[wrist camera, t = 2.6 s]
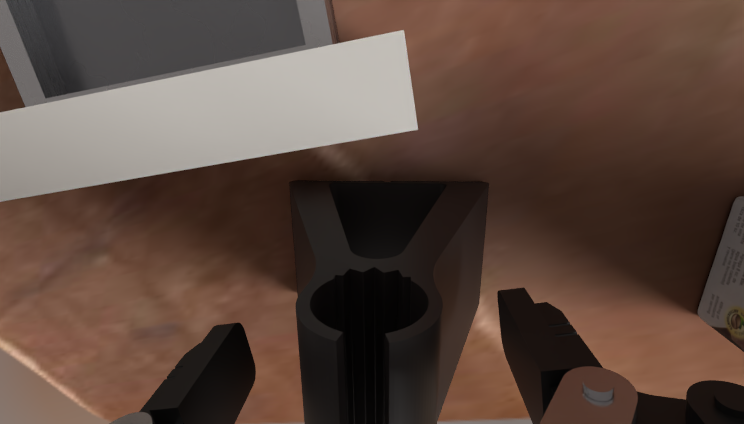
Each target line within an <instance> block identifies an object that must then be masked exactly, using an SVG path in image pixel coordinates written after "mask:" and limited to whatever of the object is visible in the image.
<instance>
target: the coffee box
mask: <svg viewBox="0 0 744 424" xmlns="http://www.w3.org/2000/svg"><path fill="white" fill-rule="evenodd" d="M698 316H699V317H700V318H701V319H702V320H704V321H705V322H706V323H707V324H708V325H710V326H711V327H712V328H714V329H715V330H716V331H718V332H719V333H720V334H721V335H723V336H724V337H725V338H727V339H728V340H729V341H730V342H732V343H733V344H734V345H736V346H737V347H738V348H739V349H741V350H742V351H743V352H744V196H739V197H737V198H736V199H735V201H734V203H733V206H732V209H731V212H730V215H729V218H728V220H727V223H726V227H725V230H724V233H723V236H722V239H721V242H720V245H719V247H718V250H717V253H716V256H715V260H714V262H713V265H712V268H711V271H710V274H709V277H708V280H707V283H706V286H705V289H704V292H703V295H702V298H701V301H700V304H699V308H698Z"/></svg>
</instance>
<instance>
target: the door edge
mask: <svg viewBox="0 0 744 424" xmlns="http://www.w3.org/2000/svg"><path fill="white" fill-rule="evenodd" d="M413 130H418V126H417V119H416V112H415V105H414V98H413V91H412V84H411V77H410V70H409V63H408V56H407V49H406V42H405V34H404V30H401V31H396V32H391V33H387V34H382V35H377V36H372V37H367V38H362V39H357V40H352V41H347V42H343V43H338V44H333V45H328V46H323V47H318V48H313V49H308V50H303V51H298V52H294V53H289V54H284V55H279V56H274V57H269V58H264V59H259V60H254V61H250V62H245V63H240V64H235V65H230V66H225V67H220V68H215V69H210V70H206V71H201V72H196V73H191V74H186V75H181V76H176V77H171V78H166V79H161V80H157V81H152V82H147V83H142V84H137V85H132V86H127V87H122V88H117V89H113V90H108V91H103V92H98V93H93V94H88V95H83V96H78V97H73V98H69V99H64V100H59V101H54V102H49V103H44V104H39V105H34V106H29V107H24V108H20V109H15V110H10V111H5V112H0V202H2V201H8V200H13V199H19V198H25V197H31V196H37V195H42V194H48V193H54V192H60V191H66V190H71V189H77V188H83V187H89V186H95V185H100V184H106V183H112V182H118V181H123V180H129V179H135V178H141V177H147V176H152V175H158V174H164V173H170V172H176V171H181V170H187V169H193V168H199V167H205V166H210V165H216V164H222V163H228V162H234V161H239V160H245V159H251V158H257V157H263V156H268V155H274V154H280V153H286V152H292V151H297V150H303V149H309V148H315V147H321V146H326V145H332V144H338V143H344V142H349V141H355V140H361V139H367V138H373V137H378V136H384V135H390V134H396V133H402V132H407V131H413Z"/></svg>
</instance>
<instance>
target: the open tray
mask: <svg viewBox="0 0 744 424" xmlns="http://www.w3.org/2000/svg"><path fill="white" fill-rule="evenodd" d="M338 43H340V42H339V37H338V32H337V26H336V21H335V16H334V10H333V5H332V0H0V47H1V50H2V52H3V55H4V57H5V59H6V62H7V64H8V66H9V69H10V71H11V74H12V76H13V78H14V81H15V83H16V85H17V88H18V90H19V93H20V95H21V97H22V100H23V102H24V104H25V107H29V106H34V105H39V104H44V103H49V102H54V101H59V100H64V99H69V98H73V97H78V96H83V95H88V94H93V93H98V92H103V91H108V90H113V89H117V88H122V87H127V86H132V85H137V84H142V83H147V82H152V81H157V80H161V79H166V78H171V77H176V76H181V75H186V74H191V73H196V72H201V71H206V70H210V69H215V68H220V67H225V66H230V65H235V64H240V63H245V62H250V61H254V60H259V59H264V58H269V57H274V56H279V55H284V54H289V53H294V52H298V51H303V50H308V49H313V48H318V47H323V46H328V45H333V44H338Z"/></svg>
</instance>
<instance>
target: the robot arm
mask: <svg viewBox="0 0 744 424" xmlns="http://www.w3.org/2000/svg"><path fill="white" fill-rule="evenodd" d="M498 307H499V317H500V328H501V338H502V344H503V348H504V352H505V356H506V359H507V361H508V364H509V366H510V369H511V371H512V373H513V376H514V378H515V381H516V383H517V386H518V388H519V391H520V393H521V396H522V398H523V401H524V403H525V405H526V408H527V410H528V413H529V415H530V418H531V420H532V423H533V424H744V386H741V385H738V384H734V383H730V382H725V381H714V380H709V381H701V382H698V383H695V384H693V385H692V386H691V387H689V389H688V391H687V395H686V400H684V399H676V398H668V397H661V396H654V395H648V394H644V393H640V392H637V391H636V389H635V388H634V386H633V385H632V384H631V383H630V382H629V381H628V380H627V379H626V378H624V377H623V376H621V375H619V374H618V373H615V372H613V371H611V370H608V369H604V368H603V367H602V366H601V364H600V363H599V362H598V360H597V359H596V358H595V356H594V355H593V353H592V352H591V351H590V349H589V348H588V347H587V345H586V344H585V343H584V341H583V340H582V339H581V337H580V336H579V335H577V332H576V330H575V329H574V328H573V326H572V325H570V322H569V321H568V320H567V318H566V317H565V316H564V314H563V313H562V311H560V310H559V309H557V308H555V307H554V306H552V305H550V304H549V303H547V302H544V303H536V304H535V303H534V302H533V300H532V299H531V297H530V296H529V294H528V293H527V291H526V289H525V288H517V289H509V290H501V291H498ZM255 373H256V371H255V363H254V360H253V356H252V353H251V350H250V347H249V343H248V340H247V337H246V334H245V331H244V328H243V326H242V325H241V324H240V323H232V324H224V325H216V326H214V327H213V328H212V330H211V331H210V332H209V333H208V335H207V336H206V337H205V339H204V340H203V341H202V343H199V344H198V345H197V346H195V347H194V348H193V349H191V350H190V351H189V352H188V353H186V354H185V355H184V356H183V358H182V359H181V360H180V361H179V363H178V364H177V365H176V366H175V369H173V370H172V371H171V373H170V374H169V375H168V376H167V379H165V380H164V381H163V383H162V384H161V385H160V386H159V388H158V389H157V390H156V391H155V393H154V394H153V395H152V397H151V398H150V399H149V400H148V402H147V403H146V404H145V405H144V407H143V408H142V409H141V410H140V412H136V413H131V414H128V415H125V416H123V417H121V418H119V419H117V420H115V421H113V422H111V423H110V424H235V421H236V419H237V417H238V415H239V413H240V411H241V409H242V407H243V405H244V403H245V401H246V399H247V397H248V395H249V393H250V390H251V388H252V386H253V384H254V381H255Z"/></svg>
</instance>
